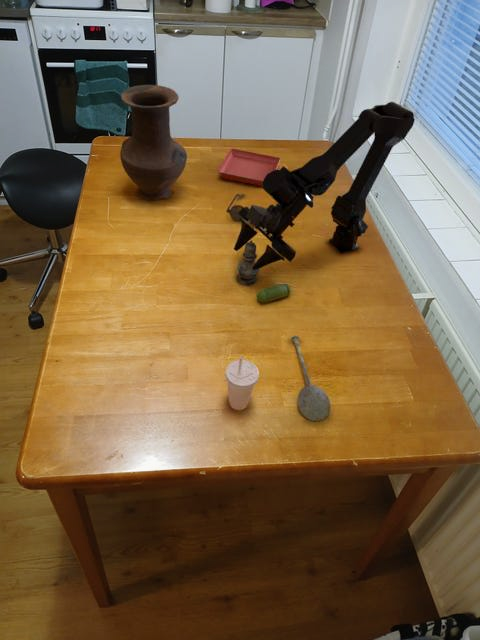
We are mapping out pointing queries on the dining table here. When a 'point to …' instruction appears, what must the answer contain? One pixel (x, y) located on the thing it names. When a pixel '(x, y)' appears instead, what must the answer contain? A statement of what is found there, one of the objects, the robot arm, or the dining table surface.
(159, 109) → the vase
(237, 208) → the eyeglasses
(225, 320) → the dining table surface
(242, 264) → the chess piece
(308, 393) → the soupspoon
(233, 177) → the plant saucer
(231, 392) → the smoothie
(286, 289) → the pickle
